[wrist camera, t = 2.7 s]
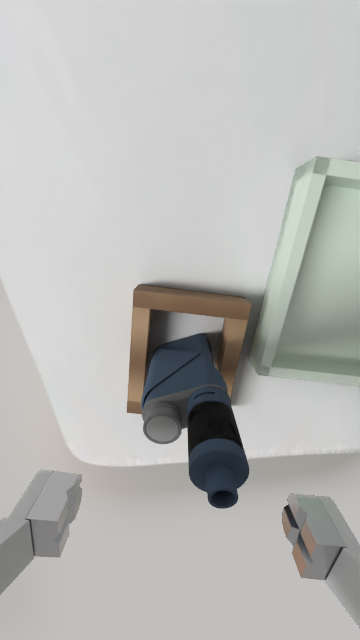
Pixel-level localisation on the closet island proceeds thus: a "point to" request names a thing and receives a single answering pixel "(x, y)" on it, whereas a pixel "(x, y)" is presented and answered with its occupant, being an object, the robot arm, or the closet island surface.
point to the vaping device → (195, 416)
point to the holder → (191, 303)
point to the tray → (315, 280)
